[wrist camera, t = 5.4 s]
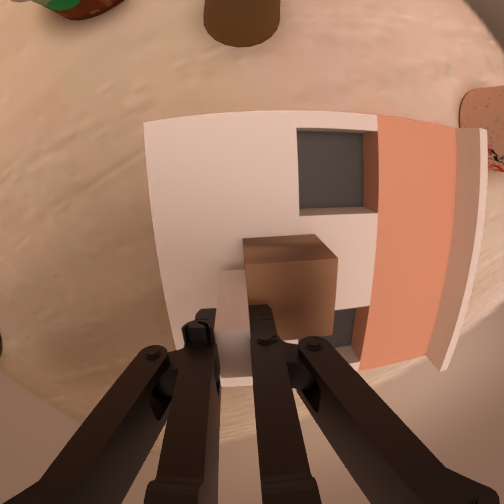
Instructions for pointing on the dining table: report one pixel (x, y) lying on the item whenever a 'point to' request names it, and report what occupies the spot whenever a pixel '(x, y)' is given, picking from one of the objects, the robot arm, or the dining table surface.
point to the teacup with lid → (487, 120)
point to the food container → (77, 7)
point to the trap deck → (326, 218)
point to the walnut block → (293, 282)
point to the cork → (241, 21)
